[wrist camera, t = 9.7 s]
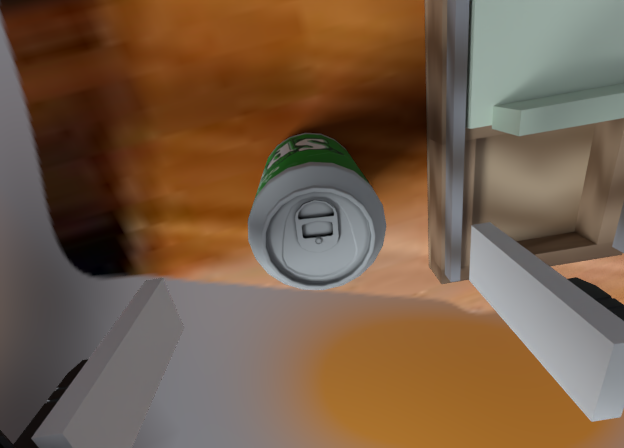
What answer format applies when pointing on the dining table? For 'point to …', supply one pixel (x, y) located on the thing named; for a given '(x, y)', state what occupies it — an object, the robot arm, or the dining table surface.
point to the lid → (544, 64)
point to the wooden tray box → (512, 170)
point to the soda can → (315, 215)
